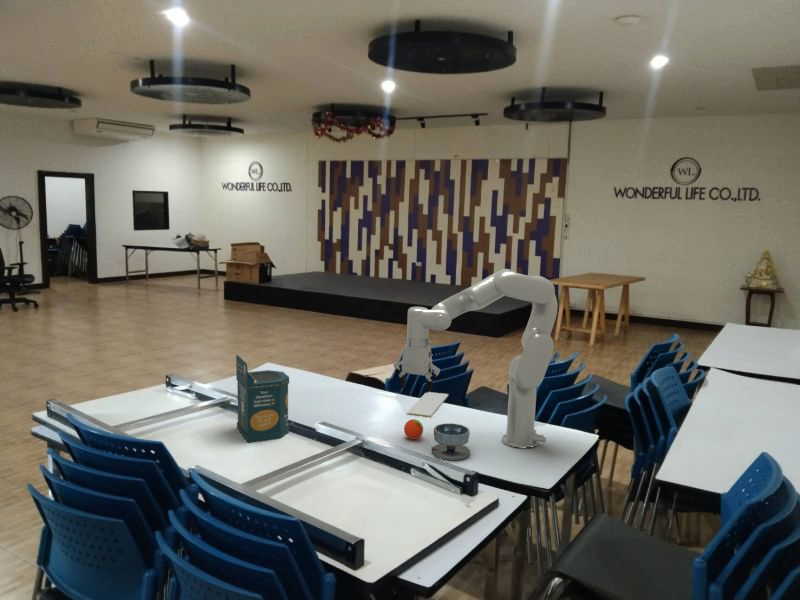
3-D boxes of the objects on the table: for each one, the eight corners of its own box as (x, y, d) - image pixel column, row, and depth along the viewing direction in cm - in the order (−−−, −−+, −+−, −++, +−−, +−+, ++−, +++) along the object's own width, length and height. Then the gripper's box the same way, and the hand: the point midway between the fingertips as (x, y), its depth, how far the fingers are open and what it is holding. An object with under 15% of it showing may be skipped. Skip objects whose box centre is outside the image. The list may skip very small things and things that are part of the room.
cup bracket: (474, 450, 211) (475, 426, 210) (463, 464, 199) (464, 439, 198) (438, 443, 216) (439, 420, 215) (426, 456, 204) (426, 432, 203)
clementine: (429, 439, 220) (429, 420, 219) (416, 444, 215) (417, 424, 214) (412, 433, 225) (412, 414, 224) (399, 438, 220) (400, 419, 219)
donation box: (236, 428, 225) (236, 354, 221) (279, 422, 233) (279, 350, 229) (247, 443, 211) (246, 364, 207) (292, 436, 219) (292, 360, 215)
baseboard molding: (401, 415, 247) (430, 419, 243) (401, 408, 246) (430, 412, 243) (422, 394, 276) (448, 397, 272) (422, 388, 275) (448, 391, 272)
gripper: (444, 343, 215) (442, 390, 218) (398, 337, 222) (397, 383, 224) (437, 347, 208) (435, 395, 211) (390, 341, 215) (389, 388, 217)
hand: (415, 389), depth 217 cm, fingers open, 9 cm apart
